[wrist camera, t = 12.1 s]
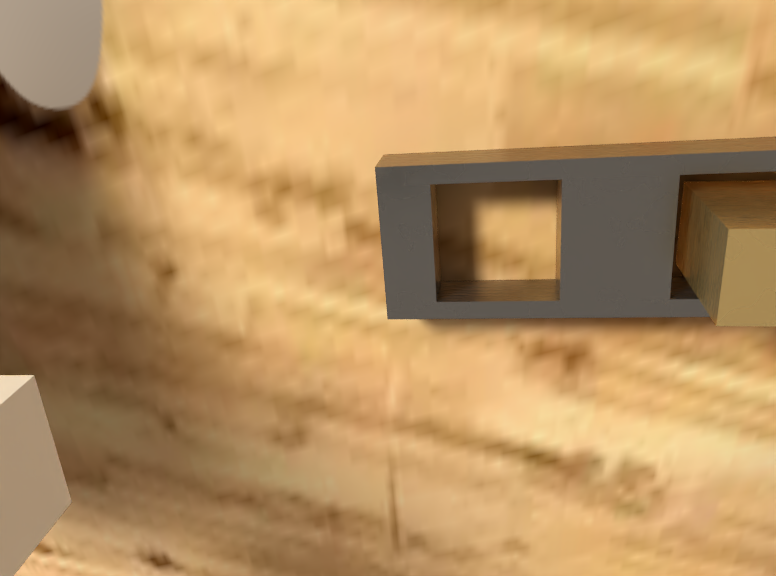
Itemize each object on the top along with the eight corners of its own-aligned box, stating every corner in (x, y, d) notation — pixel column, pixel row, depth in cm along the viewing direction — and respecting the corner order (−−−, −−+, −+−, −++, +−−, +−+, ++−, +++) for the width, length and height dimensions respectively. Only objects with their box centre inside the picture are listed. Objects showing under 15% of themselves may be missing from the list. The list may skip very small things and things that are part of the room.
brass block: (683, 182, 37) (728, 229, 30) (776, 180, 36) (845, 227, 29) (675, 262, 39) (716, 326, 31) (763, 262, 38) (826, 327, 31)
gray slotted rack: (395, 297, 42) (387, 319, 39) (383, 154, 39) (374, 167, 36) (837, 292, 38) (863, 315, 35) (865, 132, 35) (897, 145, 32)
